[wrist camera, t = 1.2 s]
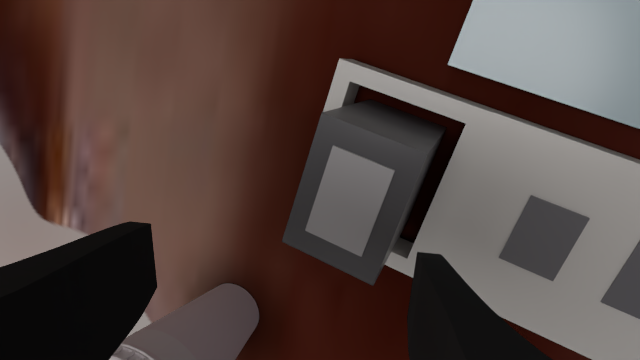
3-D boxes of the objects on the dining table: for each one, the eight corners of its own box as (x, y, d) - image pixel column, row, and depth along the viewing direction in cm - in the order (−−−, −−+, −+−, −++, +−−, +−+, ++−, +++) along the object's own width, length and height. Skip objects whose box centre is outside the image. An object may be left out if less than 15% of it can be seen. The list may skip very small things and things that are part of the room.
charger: (446, 127, 21) (427, 154, 15) (405, 225, 23) (372, 287, 17) (370, 99, 22) (320, 112, 16) (337, 195, 24) (280, 242, 18)
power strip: (778, 208, 17) (811, 225, 15) (656, 369, 20) (672, 399, 18) (352, 59, 22) (339, 58, 20) (304, 208, 25) (289, 219, 23)
